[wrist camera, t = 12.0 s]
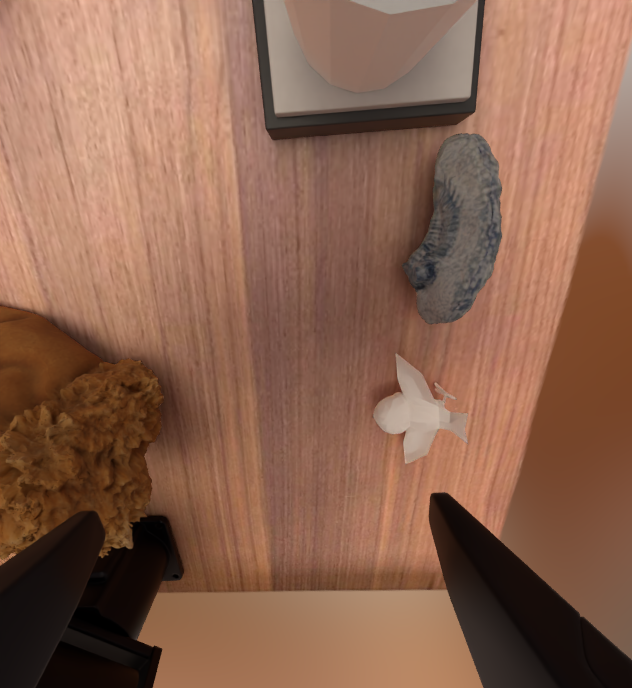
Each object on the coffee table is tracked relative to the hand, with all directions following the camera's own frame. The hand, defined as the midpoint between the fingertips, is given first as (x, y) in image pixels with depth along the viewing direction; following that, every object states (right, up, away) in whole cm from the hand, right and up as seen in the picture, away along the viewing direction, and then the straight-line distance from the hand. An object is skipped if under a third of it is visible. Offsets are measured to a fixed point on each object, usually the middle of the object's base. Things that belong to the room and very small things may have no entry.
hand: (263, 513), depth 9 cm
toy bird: (+7, +1, +13) cm, 15 cm away
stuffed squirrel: (-13, +2, +12) cm, 18 cm away
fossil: (+8, +10, +9) cm, 16 cm away
